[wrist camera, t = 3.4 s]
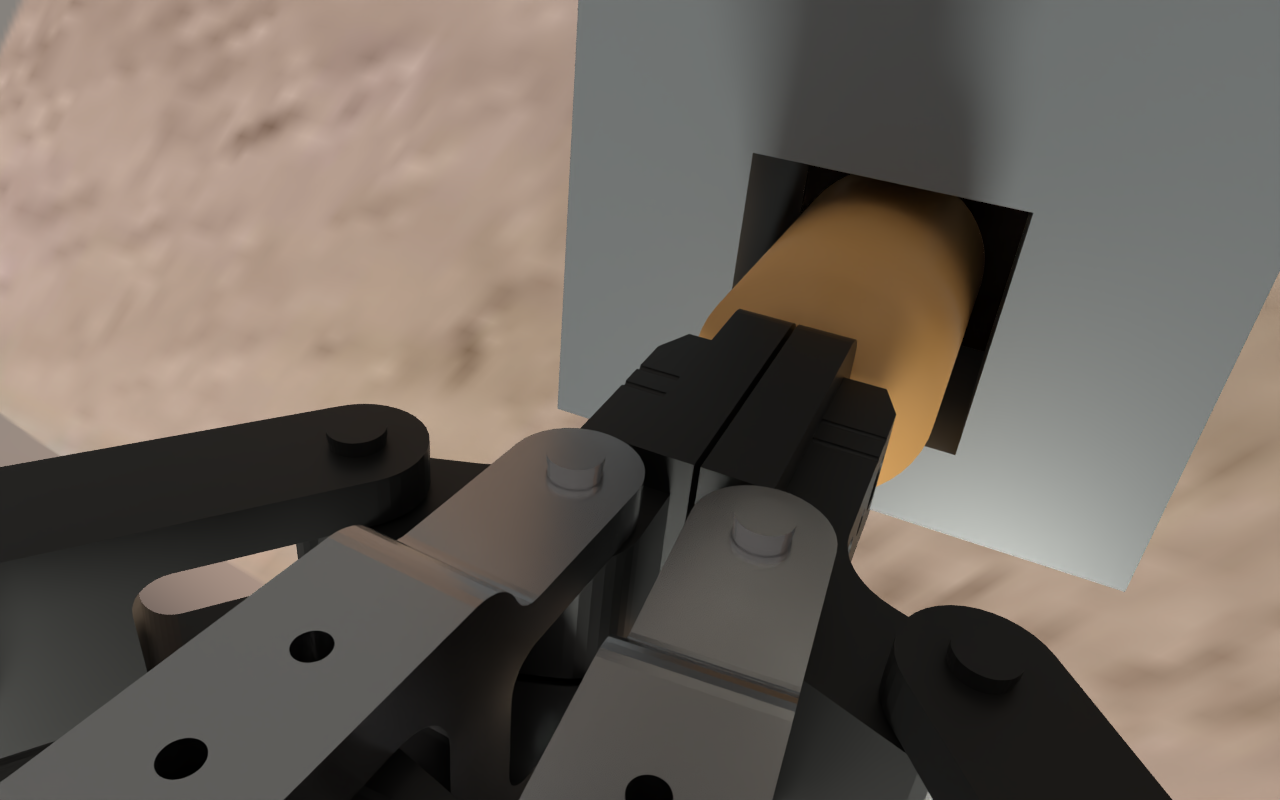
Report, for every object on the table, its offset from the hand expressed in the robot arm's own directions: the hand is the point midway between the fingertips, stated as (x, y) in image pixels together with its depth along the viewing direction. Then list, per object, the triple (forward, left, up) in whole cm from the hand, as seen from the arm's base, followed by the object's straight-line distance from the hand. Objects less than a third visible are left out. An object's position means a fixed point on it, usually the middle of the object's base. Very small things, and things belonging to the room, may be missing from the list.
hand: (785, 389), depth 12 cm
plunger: (0, 0, -5) cm, 5 cm away
